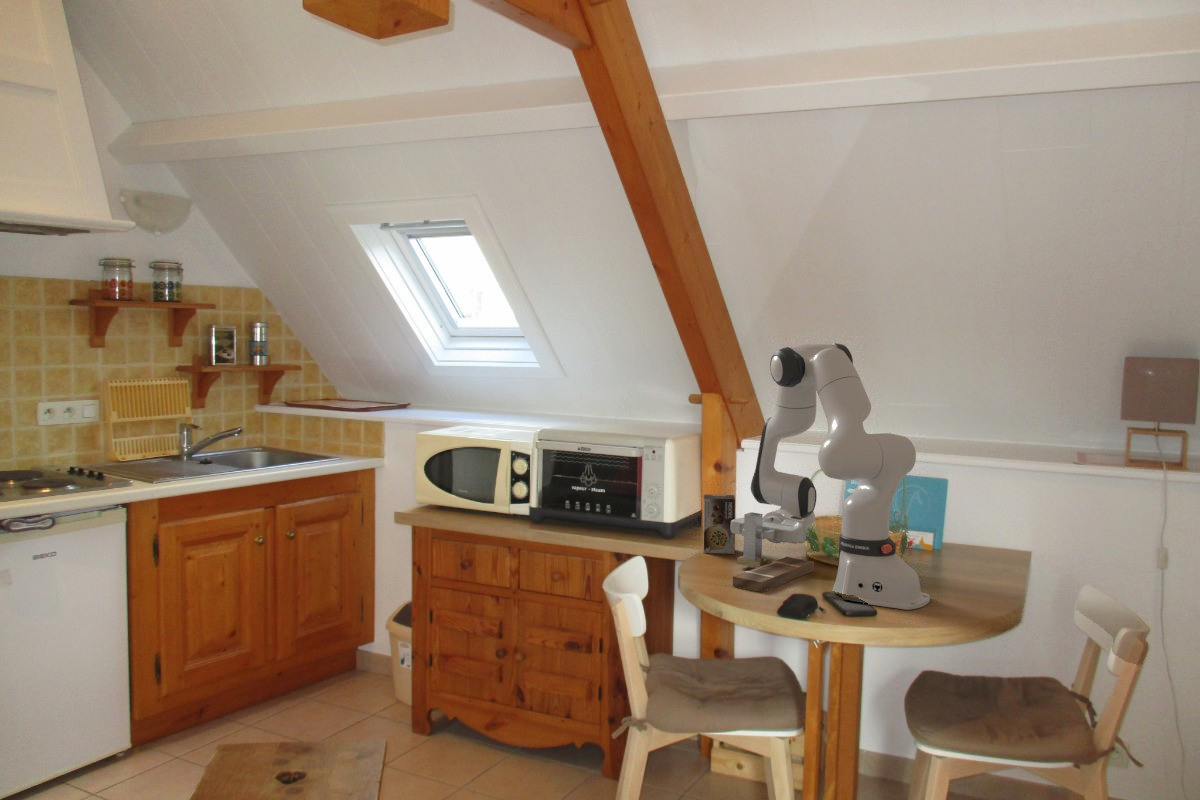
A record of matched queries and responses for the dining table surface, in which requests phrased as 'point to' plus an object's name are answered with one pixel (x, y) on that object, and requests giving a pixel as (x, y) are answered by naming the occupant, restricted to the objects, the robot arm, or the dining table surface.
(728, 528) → the coffee box
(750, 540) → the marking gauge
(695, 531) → the dining table surface
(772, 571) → the walnut board
